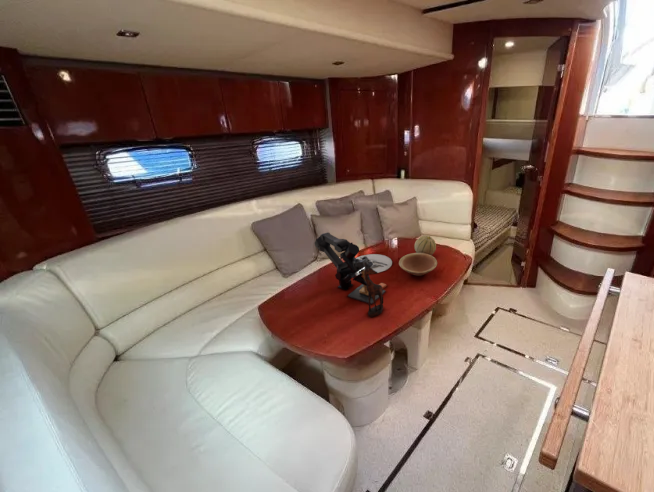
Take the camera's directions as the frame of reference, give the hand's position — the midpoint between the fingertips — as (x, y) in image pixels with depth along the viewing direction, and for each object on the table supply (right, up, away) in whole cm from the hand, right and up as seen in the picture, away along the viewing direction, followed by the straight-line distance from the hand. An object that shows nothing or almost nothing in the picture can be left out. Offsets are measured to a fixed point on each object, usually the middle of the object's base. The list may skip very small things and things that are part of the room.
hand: (368, 284), depth 162 cm
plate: (-3, +11, +40) cm, 42 cm away
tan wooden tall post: (-1, -6, +5) cm, 8 cm away
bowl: (+28, +6, +29) cm, 41 cm away
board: (-2, -6, +7) cm, 10 cm away
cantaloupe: (+34, +17, +49) cm, 62 cm away
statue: (+4, -14, -8) cm, 17 cm away
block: (+6, -2, +14) cm, 16 cm away
